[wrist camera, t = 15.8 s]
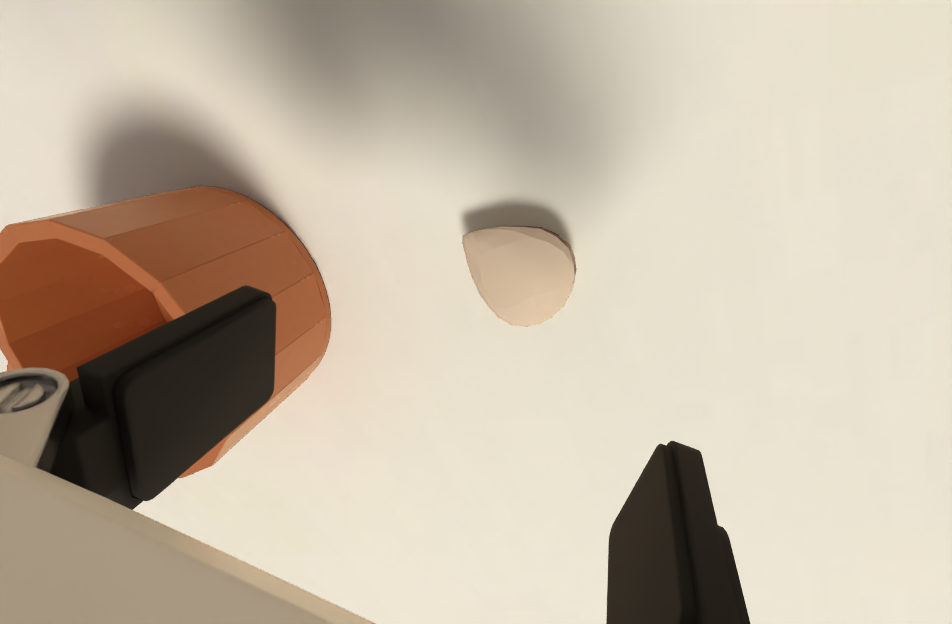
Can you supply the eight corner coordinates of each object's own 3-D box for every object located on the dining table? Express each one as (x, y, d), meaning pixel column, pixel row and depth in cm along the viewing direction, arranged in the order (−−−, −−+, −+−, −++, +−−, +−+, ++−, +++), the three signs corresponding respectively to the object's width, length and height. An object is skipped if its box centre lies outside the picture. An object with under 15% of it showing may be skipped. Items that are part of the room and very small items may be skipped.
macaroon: (541, 325, 21) (532, 352, 19) (449, 267, 21) (430, 286, 19) (597, 251, 19) (594, 271, 17) (495, 185, 19) (479, 197, 17)
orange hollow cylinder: (131, 157, 23) (-57, 181, 17) (340, 225, 22) (221, 281, 15) (155, 347, 29) (20, 421, 22) (323, 413, 27) (231, 513, 21)
